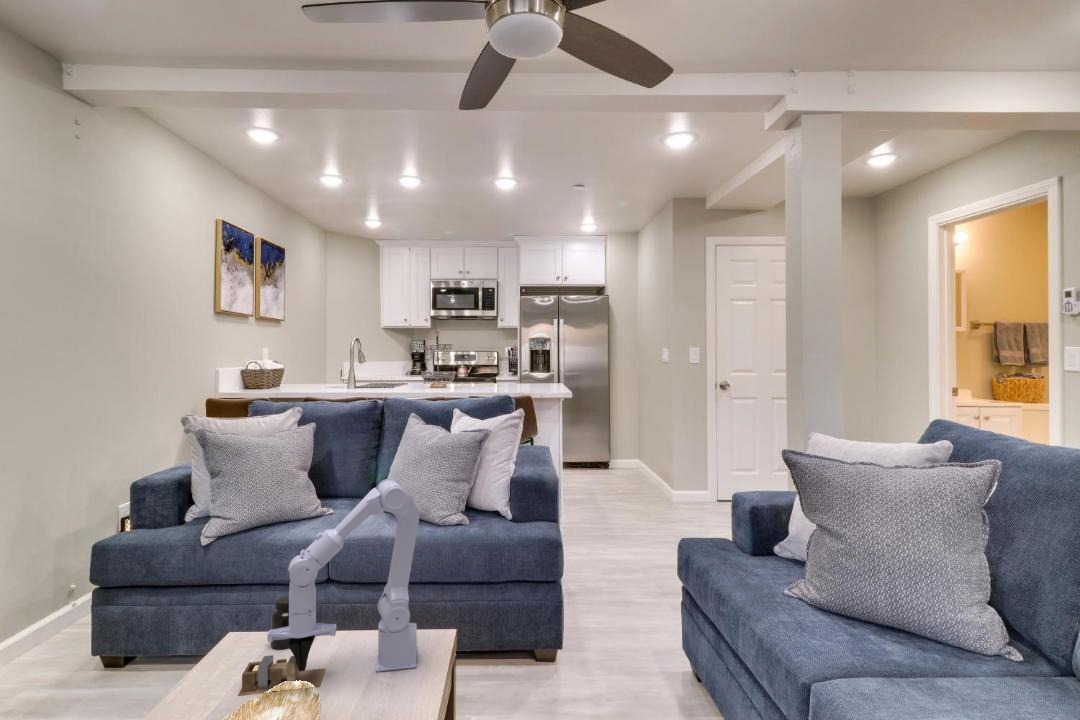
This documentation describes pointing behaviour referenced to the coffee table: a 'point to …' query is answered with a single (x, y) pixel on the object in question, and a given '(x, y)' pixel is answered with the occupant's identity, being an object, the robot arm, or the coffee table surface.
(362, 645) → the coffee table surface
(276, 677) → the jig
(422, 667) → the coffee table surface
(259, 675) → the collar
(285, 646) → the supplement bottle
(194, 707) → the coffee table surface
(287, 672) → the shaft
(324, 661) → the coffee table surface
